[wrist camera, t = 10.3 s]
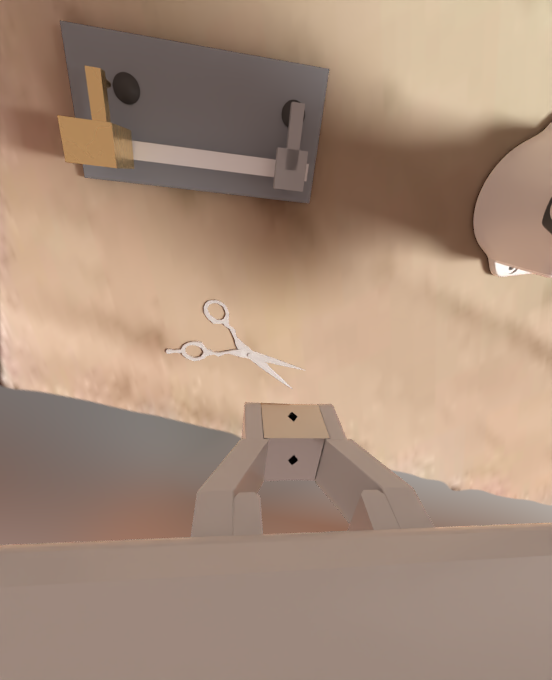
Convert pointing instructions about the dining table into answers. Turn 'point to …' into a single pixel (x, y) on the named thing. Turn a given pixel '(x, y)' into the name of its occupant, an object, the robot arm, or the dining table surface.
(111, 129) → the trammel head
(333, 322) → the dining table surface
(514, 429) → the dining table surface
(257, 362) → the scissors
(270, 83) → the plate
